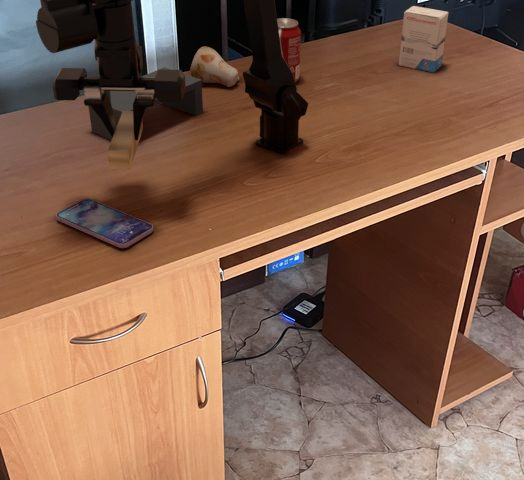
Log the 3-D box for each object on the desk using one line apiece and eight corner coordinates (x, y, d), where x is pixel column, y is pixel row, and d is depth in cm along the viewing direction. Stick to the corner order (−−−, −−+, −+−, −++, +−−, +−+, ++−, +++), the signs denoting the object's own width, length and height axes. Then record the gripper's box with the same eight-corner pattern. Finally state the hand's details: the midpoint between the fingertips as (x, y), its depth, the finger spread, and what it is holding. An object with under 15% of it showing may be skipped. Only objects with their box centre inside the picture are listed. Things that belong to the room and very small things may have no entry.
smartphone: (87, 197, 127) (156, 225, 121) (87, 202, 128) (156, 231, 121) (52, 214, 123) (122, 245, 116) (53, 220, 123) (123, 251, 117)
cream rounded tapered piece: (233, 94, 162) (207, 52, 157) (202, 104, 169) (176, 63, 163) (251, 74, 166) (226, 31, 160) (220, 84, 172) (195, 43, 167)
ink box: (442, 66, 174) (450, 11, 166) (433, 73, 171) (441, 17, 163) (406, 58, 177) (413, 4, 170) (397, 65, 174) (403, 10, 167)
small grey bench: (203, 112, 155) (201, 79, 150) (128, 147, 143) (124, 113, 139) (166, 99, 160) (164, 67, 155) (91, 132, 148) (87, 98, 143)
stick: (130, 169, 117) (127, 151, 115) (109, 169, 117) (107, 150, 115) (143, 128, 127) (141, 111, 125) (124, 128, 127) (122, 110, 125)
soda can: (304, 77, 169) (306, 20, 161) (291, 88, 164) (293, 30, 156) (275, 72, 171) (276, 15, 163) (262, 83, 166) (262, 25, 158)
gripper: (186, 18, 117) (191, 118, 127) (61, 16, 117) (77, 116, 127) (177, 44, 108) (184, 149, 118) (43, 42, 109) (61, 147, 119)
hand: (126, 139), depth 121 cm, fingers closed on stick, 3 cm apart
